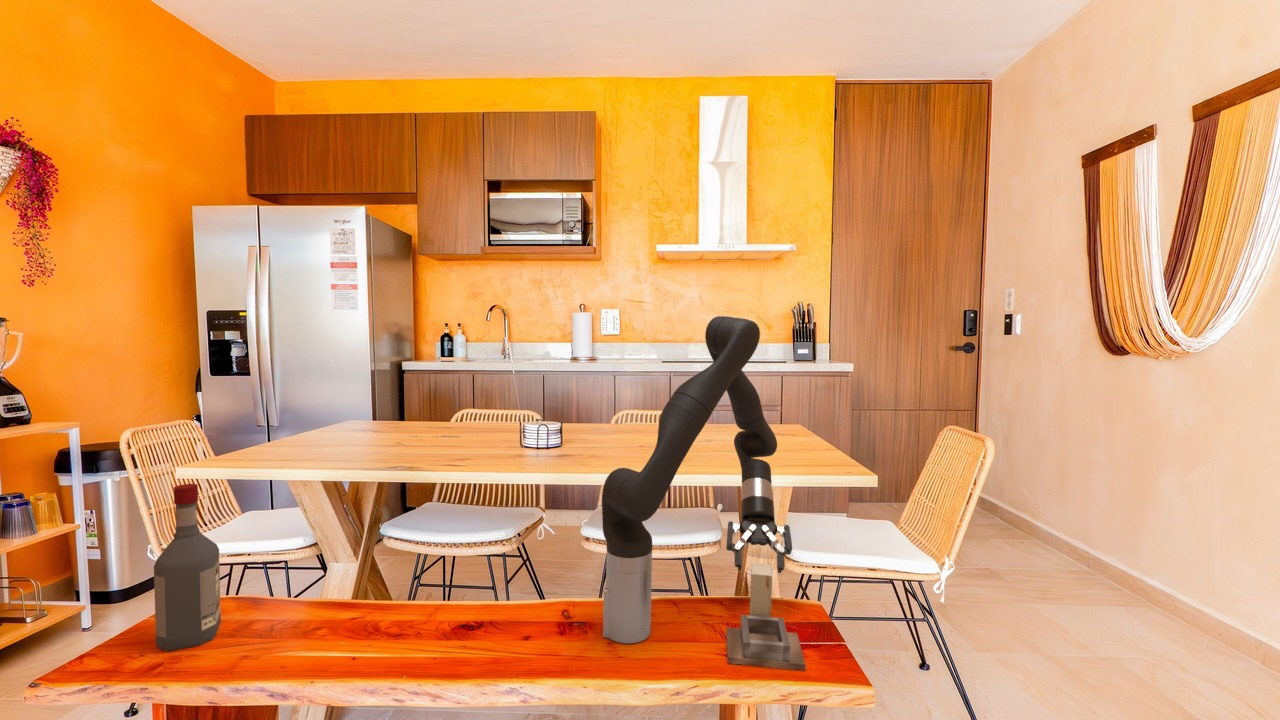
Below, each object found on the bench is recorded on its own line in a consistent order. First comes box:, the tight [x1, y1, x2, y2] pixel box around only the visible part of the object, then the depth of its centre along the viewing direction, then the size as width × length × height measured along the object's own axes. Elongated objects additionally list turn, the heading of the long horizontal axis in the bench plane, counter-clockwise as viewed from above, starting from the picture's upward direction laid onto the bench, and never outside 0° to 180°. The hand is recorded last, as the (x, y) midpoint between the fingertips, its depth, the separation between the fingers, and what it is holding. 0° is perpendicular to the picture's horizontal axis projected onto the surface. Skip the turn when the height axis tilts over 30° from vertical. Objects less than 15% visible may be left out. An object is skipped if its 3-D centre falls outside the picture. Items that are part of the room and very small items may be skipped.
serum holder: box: [726, 614, 806, 672], centre depth 112 cm, size 14×11×4 cm
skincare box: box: [749, 562, 773, 617], centre depth 121 cm, size 6×4×12 cm
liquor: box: [153, 483, 222, 652], centre depth 112 cm, size 9×9×30 cm
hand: (759, 570), depth 125 cm, fingers open, 8 cm apart
